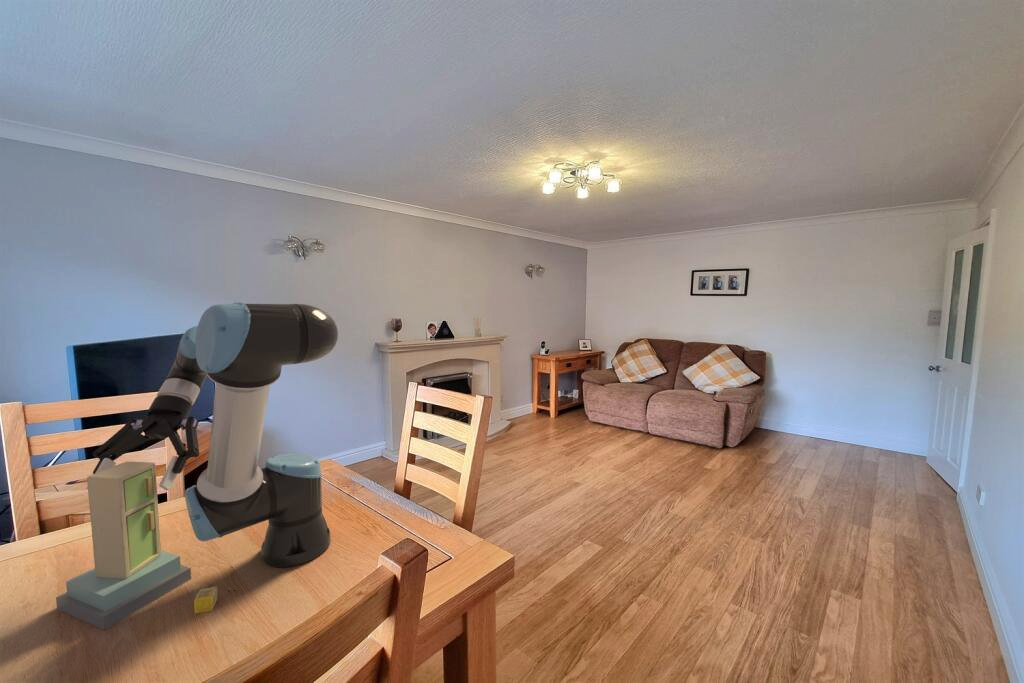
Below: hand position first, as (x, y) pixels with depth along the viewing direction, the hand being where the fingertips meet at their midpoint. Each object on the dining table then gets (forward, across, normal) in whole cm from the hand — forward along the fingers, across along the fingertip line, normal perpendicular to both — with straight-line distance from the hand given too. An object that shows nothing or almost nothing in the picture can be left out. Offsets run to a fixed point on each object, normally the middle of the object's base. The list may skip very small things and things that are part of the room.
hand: (128, 489), depth 85 cm
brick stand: (+17, 0, -13) cm, 21 cm away
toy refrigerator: (+13, -1, -9) cm, 16 cm away
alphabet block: (+21, -19, -9) cm, 30 cm away
